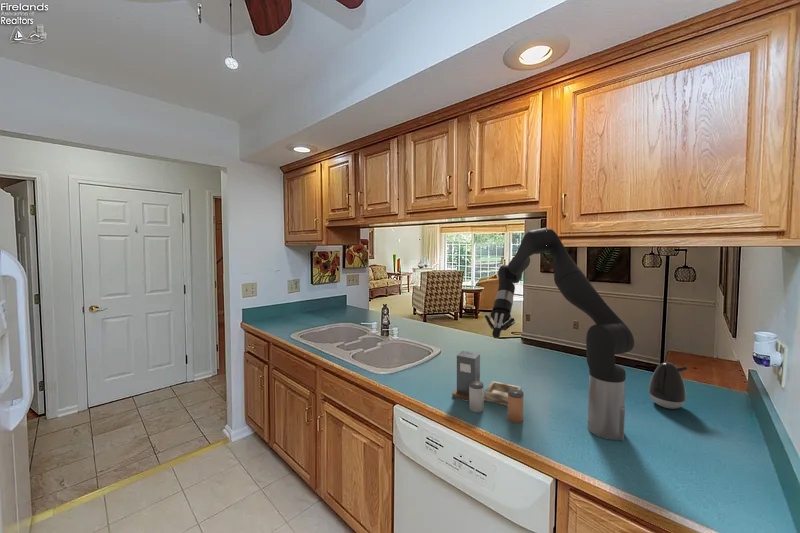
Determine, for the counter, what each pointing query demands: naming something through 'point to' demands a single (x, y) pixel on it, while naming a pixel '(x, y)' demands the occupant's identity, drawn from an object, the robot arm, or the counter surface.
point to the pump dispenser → (668, 386)
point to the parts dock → (498, 392)
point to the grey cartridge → (476, 396)
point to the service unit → (466, 373)
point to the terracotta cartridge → (515, 405)
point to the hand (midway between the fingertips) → (495, 337)
